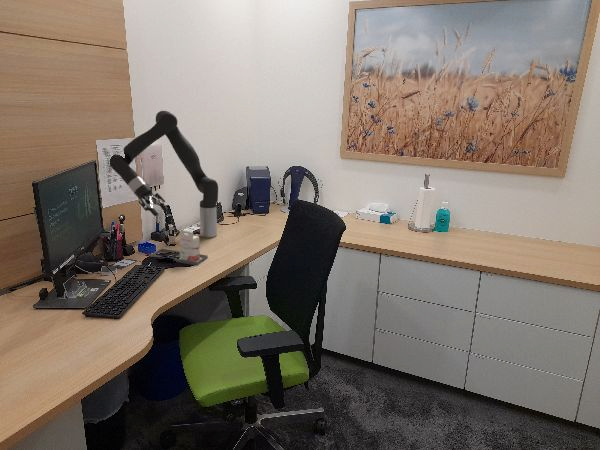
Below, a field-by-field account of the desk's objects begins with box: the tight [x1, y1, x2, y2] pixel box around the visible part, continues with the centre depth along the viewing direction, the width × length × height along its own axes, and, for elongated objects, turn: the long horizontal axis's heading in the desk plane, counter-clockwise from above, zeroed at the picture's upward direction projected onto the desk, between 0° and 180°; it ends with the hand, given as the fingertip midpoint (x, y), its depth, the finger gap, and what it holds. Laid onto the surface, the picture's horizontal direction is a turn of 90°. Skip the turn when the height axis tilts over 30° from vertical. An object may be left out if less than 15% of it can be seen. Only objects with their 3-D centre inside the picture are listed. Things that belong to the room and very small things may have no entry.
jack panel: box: [149, 247, 209, 266], centre depth 214 cm, size 10×26×2 cm, turn 74°
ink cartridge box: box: [179, 229, 201, 261], centre depth 210 cm, size 9×5×15 cm, turn 65°
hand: (162, 213), depth 214 cm, fingers open, 8 cm apart
